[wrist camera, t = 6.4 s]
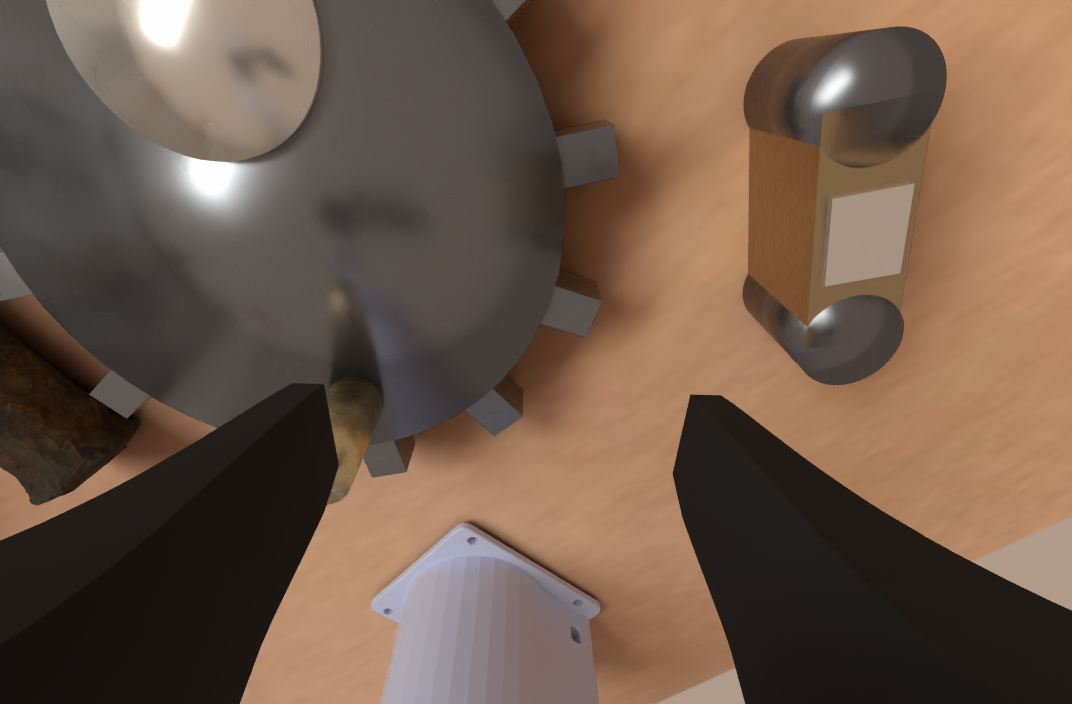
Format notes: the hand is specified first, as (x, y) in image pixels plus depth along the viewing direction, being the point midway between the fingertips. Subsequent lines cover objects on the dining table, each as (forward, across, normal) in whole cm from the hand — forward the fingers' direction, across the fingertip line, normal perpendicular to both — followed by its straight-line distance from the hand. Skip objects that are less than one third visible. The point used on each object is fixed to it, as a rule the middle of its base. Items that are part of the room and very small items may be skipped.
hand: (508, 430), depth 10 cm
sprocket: (+9, +7, -2) cm, 12 cm away
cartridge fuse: (+10, -9, -3) cm, 14 cm away
